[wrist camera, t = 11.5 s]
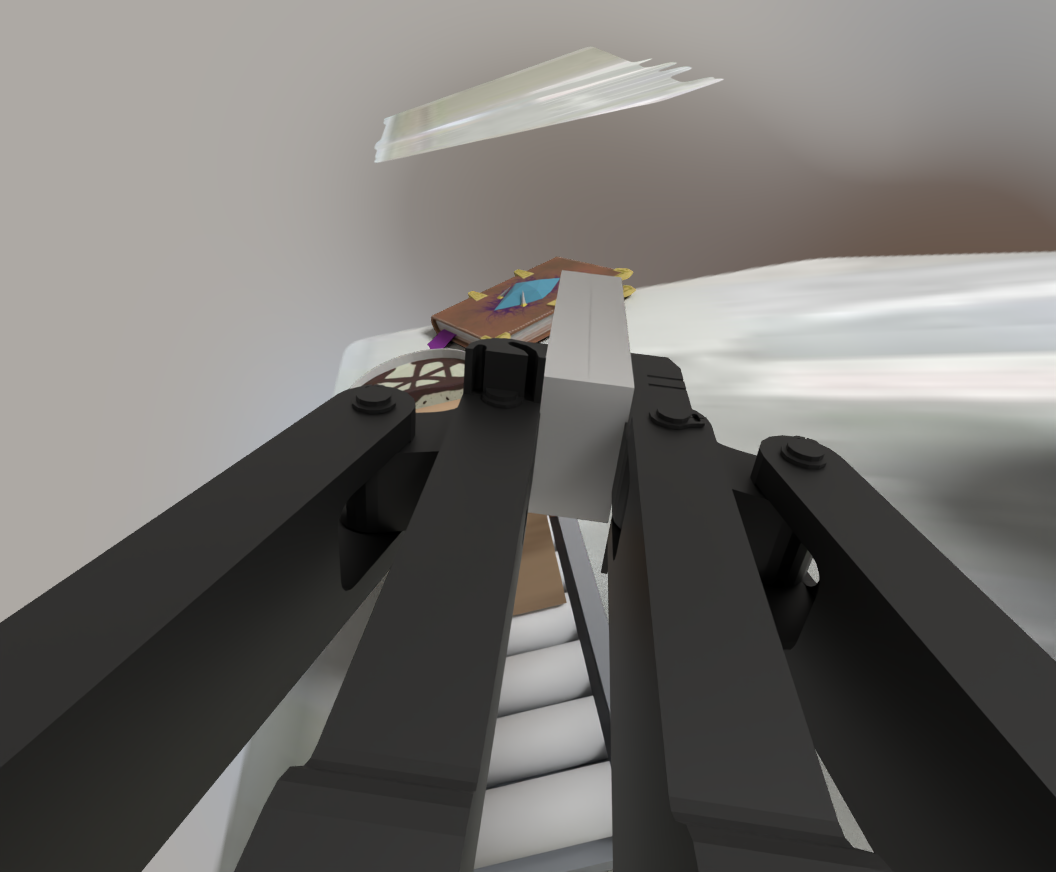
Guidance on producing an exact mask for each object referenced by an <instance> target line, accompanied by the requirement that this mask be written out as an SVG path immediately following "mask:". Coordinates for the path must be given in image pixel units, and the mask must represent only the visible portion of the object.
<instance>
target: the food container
mask: <svg viewBox="0 0 1056 872" xmlns="http://www.w3.org/2000/svg"><path fill="white" fill-rule="evenodd" d="M464 366H465V351H462V350H457V349H443V348H441V349H429V350H422V351H417V352H413V353H409V354H405V355H402V356H399V357H396V358H394V359H391V360H389V361H387V362H384V363H382V364H380V365H378V366H377V367H375V368H373V369H371V370H370V371H368V372H367V373H365V374H364V375H363V376H361V377H360V378H359V379H358V380H357V381H356V382H355V383H354V384H353V385H352V386H351V387H350V388H349V389H351V388H355V387H360V386H362V385H369V384H372V386H374V384H379V385H384V386H387V387H393V388H397V389H399V390H402V391H405V392H407V393H408V394H409V395H410V396H412V397H413V398H414V401H415V405H416V409H419V408H423V407H428V406H432V405H436V404H440V403H445V402H449V401H453V400H458V399H461V397H462V395H463V385H464Z"/></svg>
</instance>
